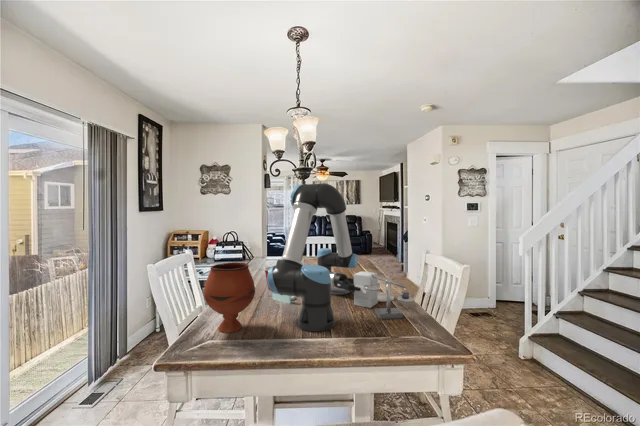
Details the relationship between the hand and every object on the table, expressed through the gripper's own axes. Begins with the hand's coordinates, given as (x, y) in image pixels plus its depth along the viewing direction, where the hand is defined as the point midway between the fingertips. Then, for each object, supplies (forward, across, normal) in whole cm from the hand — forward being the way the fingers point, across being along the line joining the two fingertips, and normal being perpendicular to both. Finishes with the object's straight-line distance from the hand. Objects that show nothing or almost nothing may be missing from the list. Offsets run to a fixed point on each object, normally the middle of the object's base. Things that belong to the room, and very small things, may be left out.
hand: (373, 288), depth 145 cm
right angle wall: (-39, +20, -9) cm, 44 cm away
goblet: (-26, +60, -9) cm, 66 cm away
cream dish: (-4, -13, -8) cm, 16 cm away
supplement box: (-4, 0, -9) cm, 10 cm away
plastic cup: (-59, +14, -9) cm, 61 cm away
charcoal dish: (-28, -6, -8) cm, 30 cm away
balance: (+12, +6, -9) cm, 16 cm away
